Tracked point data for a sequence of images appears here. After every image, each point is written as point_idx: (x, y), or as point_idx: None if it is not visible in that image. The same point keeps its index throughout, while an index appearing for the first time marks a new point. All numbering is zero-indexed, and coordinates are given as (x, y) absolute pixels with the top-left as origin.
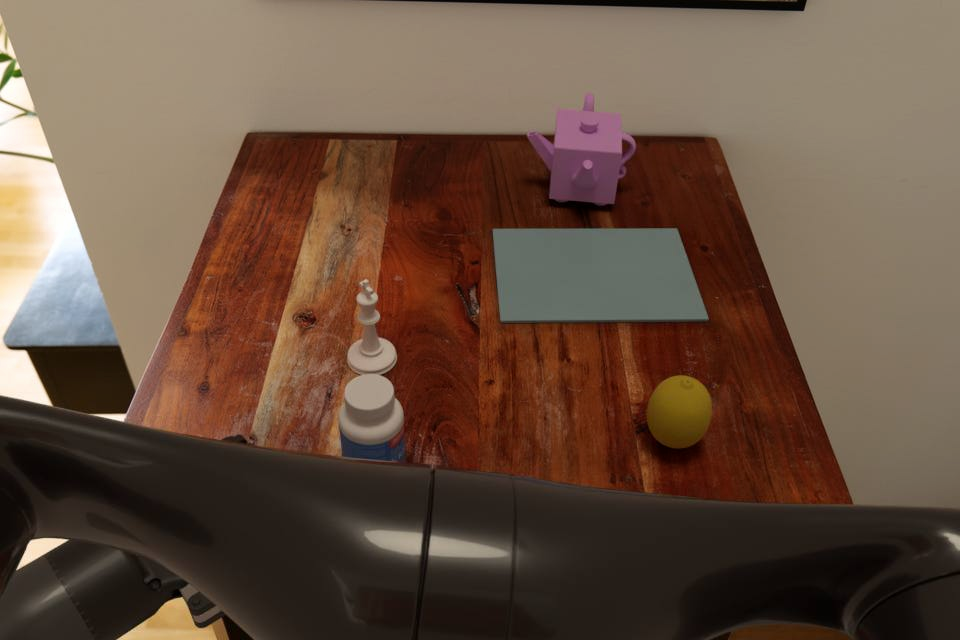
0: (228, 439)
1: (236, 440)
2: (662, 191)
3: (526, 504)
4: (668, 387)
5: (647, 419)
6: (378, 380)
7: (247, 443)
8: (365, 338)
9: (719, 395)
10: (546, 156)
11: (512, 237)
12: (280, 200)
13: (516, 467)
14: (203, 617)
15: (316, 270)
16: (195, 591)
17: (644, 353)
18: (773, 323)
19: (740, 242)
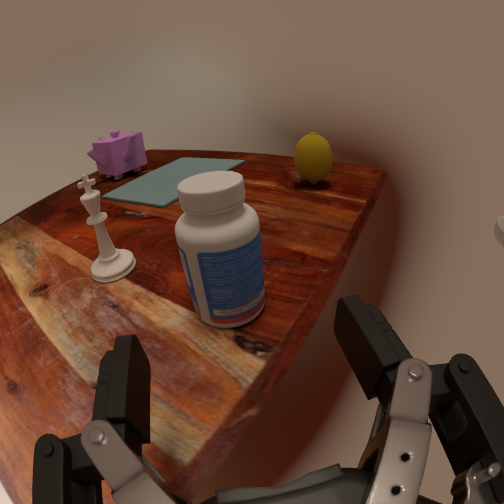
0: (108, 359)
1: (125, 344)
2: (157, 159)
3: None
4: (308, 139)
5: (308, 168)
6: (201, 175)
7: (139, 342)
8: (103, 243)
9: (292, 169)
10: (101, 159)
11: (117, 191)
12: None
13: (293, 231)
14: None
15: (21, 269)
16: (476, 500)
17: (245, 176)
18: (262, 154)
19: (209, 151)
